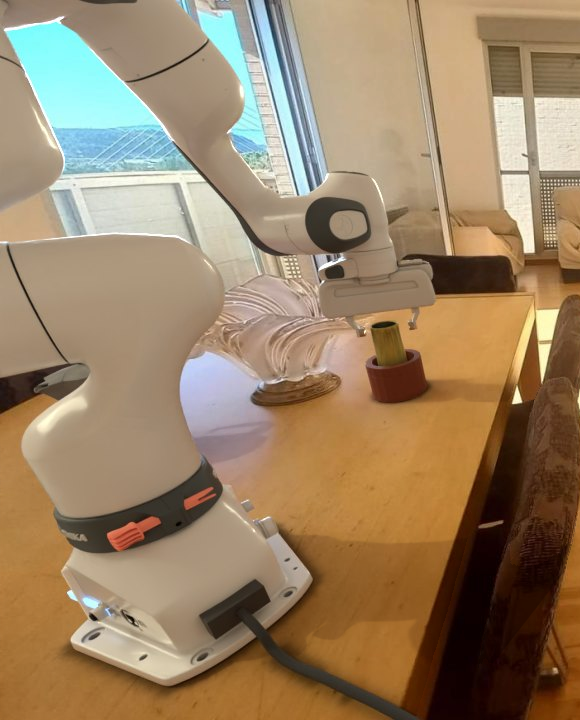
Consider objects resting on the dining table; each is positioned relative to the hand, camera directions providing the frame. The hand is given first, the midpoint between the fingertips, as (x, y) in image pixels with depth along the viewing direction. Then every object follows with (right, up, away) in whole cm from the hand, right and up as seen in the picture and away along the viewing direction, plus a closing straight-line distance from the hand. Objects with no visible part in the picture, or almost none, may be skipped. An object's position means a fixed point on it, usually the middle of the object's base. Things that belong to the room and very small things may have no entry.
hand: (388, 332), depth 95 cm
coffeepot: (-39, -21, -11) cm, 46 cm away
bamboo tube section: (0, -12, +5) cm, 13 cm away
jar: (0, -12, +5) cm, 13 cm away
